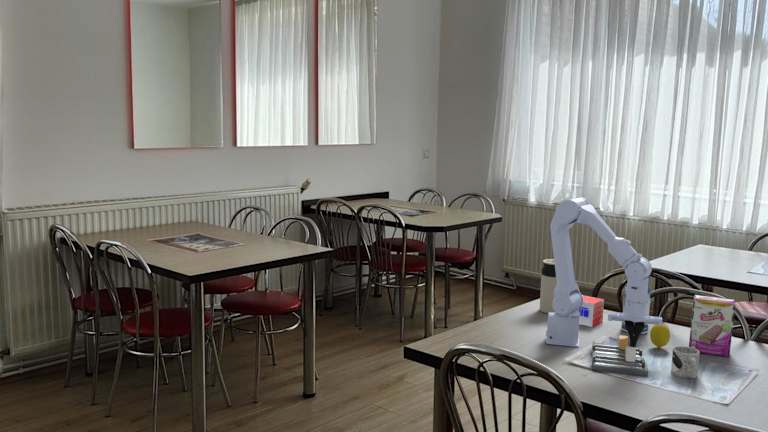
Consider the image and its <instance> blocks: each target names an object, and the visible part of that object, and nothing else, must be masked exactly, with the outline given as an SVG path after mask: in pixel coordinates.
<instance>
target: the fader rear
mask: <svg viewBox="0 0 768 432" xmlns="http://www.w3.org/2000/svg"><path fill="white" fill-rule="evenodd" d="M629 342H630V339H629V335H620V334H619V336H618V345H619V350H626V346H627V347H628V346H629Z"/></svg>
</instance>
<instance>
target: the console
mask: <svg viewBox="0 0 768 432" xmlns="http://www.w3.org/2000/svg"><path fill="white" fill-rule="evenodd" d="M591 343H592V345H591V348H592V355H591V356H592V359H591V360H592V369H593V371H596V372H597V371H598V372H605V373H615V374H625V375H630V376H631V375H632V376H639V377H649V367H648V362H647V358H646V355H645V351H644V347H642V346H636V347H635V349H636V357H635V362H634V363H632V362H626V359H625V352H626V350H619V344H610V343H600V342H595V341H592V342H591ZM628 347H630V345H628Z"/></svg>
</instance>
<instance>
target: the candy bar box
mask: <svg viewBox="0 0 768 432" xmlns="http://www.w3.org/2000/svg"><path fill="white" fill-rule="evenodd" d="M691 310H692V312H691V321H690V331H689V341H688V347H691V348H694V349H697V350H699V352H700V354H705V355H712V356H718V357H723V358H724V357H726V358H730V354H731V345H732V336H733V330H734V329H733V328H734V326H733V325H734V319H735V311H736V300H735V299H731V298H730V299H729V298H724V297H721V298H720V297H715V296H708V295H701V294H700V295H699V294H694V296H693V303H692V309H691Z"/></svg>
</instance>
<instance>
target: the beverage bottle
mask: <svg viewBox="0 0 768 432" xmlns="http://www.w3.org/2000/svg"><path fill="white" fill-rule="evenodd" d="M647 277H648V283H649V282H650V279H651V274H650V275H649V276H647ZM647 277H646V278H647ZM626 289H627V283H626V284H625V286H624V288H623V291H624V294H623V296H622V301H623V305H622V306H623V307H622V313H625V302H626ZM651 289H652V288H651V287H650V285H649V284H648V294H647V307H646V315H649V316H650V307H651V302H652V297H651V294H652V290H651ZM644 325H645V327H644V330H643V331H642V333H641V334H640V335H644V334H647V333H648V331H649V324H644ZM620 326H621V327H620V328H621V330H622V331H623V332H626V333H628V332H627V329H626V326H625V322H623V321H621V325H620Z"/></svg>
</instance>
